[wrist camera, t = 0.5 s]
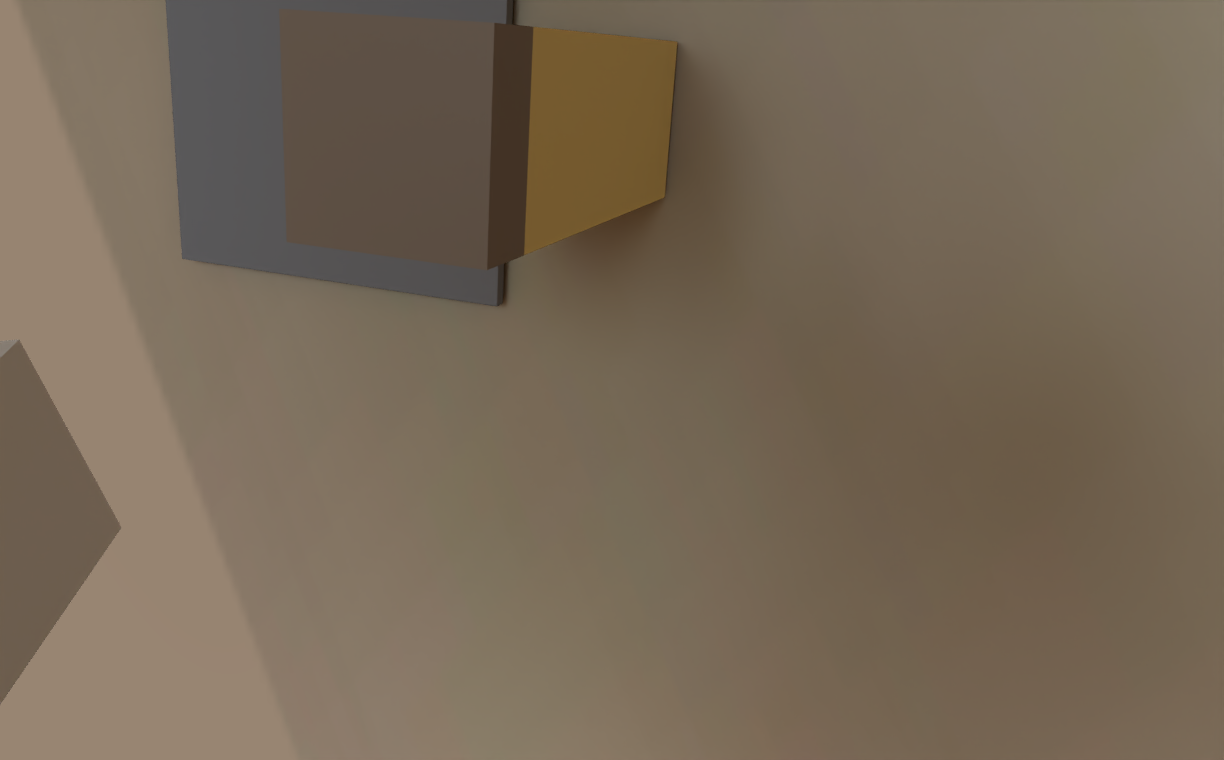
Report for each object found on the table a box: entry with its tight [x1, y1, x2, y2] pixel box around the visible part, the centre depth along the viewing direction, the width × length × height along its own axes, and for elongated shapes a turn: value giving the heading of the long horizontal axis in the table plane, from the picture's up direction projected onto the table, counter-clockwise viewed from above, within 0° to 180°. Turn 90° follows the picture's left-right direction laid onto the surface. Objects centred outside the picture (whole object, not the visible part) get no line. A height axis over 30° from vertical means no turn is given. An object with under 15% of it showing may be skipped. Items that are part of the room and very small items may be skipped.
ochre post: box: [279, 9, 677, 270], centre depth 28 cm, size 5×5×14 cm
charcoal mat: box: [166, 0, 513, 306], centre depth 37 cm, size 14×14×1 cm
